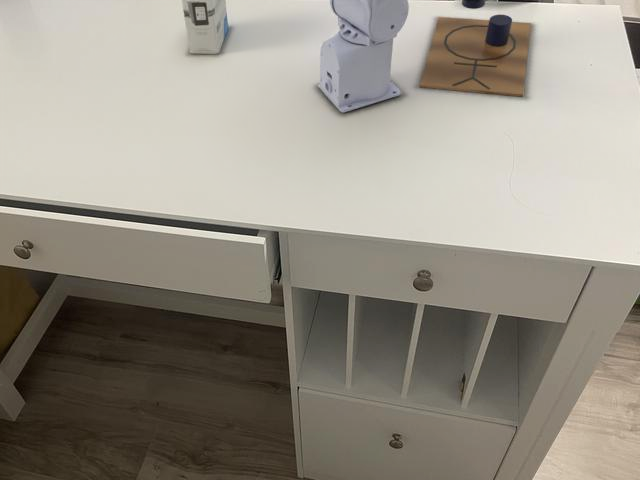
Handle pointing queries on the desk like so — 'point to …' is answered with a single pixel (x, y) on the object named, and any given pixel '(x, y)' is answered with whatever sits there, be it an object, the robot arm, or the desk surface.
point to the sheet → (476, 58)
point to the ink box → (205, 25)
